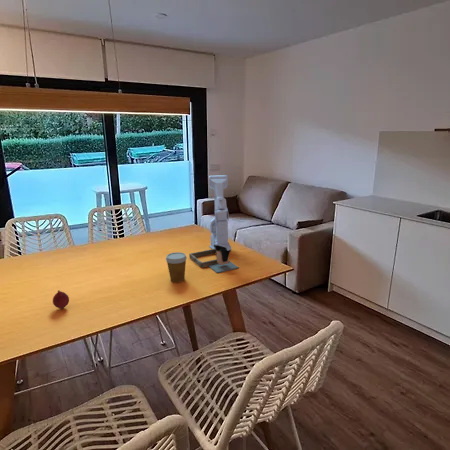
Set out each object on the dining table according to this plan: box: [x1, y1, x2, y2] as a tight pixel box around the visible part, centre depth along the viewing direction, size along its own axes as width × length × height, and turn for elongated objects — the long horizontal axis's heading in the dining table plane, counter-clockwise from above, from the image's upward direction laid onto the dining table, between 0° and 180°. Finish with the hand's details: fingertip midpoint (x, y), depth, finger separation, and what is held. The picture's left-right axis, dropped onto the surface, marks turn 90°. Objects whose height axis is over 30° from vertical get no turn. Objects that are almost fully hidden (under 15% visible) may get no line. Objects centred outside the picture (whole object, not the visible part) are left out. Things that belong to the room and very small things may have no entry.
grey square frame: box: [189, 248, 218, 269], centre depth 182 cm, size 16×16×2 cm
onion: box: [52, 289, 70, 310], centre depth 134 cm, size 6×6×8 cm
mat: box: [208, 261, 239, 274], centre depth 172 cm, size 10×12×1 cm
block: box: [216, 250, 230, 265], centre depth 171 cm, size 4×4×6 cm
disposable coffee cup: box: [165, 251, 188, 283], centre depth 157 cm, size 10×10×12 cm
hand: (222, 259), depth 171 cm, fingers closed on block, 4 cm apart
